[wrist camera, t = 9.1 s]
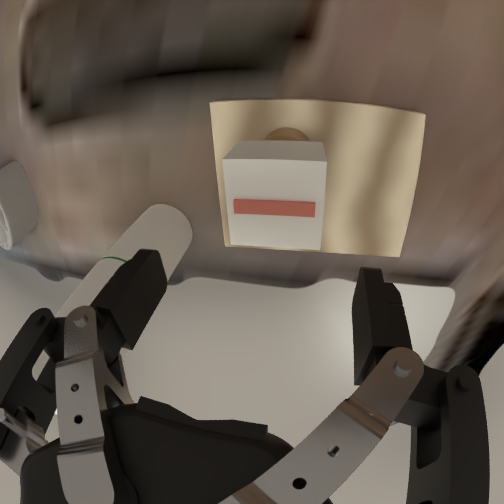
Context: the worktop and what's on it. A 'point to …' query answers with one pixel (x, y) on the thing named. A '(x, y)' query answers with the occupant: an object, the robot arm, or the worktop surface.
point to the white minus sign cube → (275, 193)
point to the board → (339, 164)
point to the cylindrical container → (134, 238)
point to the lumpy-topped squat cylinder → (16, 205)
